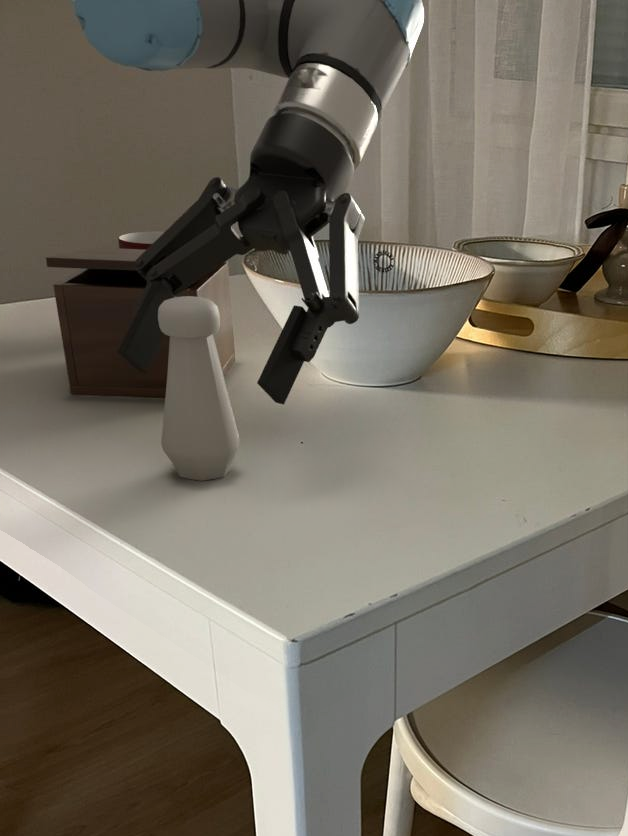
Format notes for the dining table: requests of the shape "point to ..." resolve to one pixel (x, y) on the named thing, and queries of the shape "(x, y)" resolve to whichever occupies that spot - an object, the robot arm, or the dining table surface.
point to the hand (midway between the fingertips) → (198, 378)
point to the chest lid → (97, 259)
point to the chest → (125, 330)
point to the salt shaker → (196, 392)
